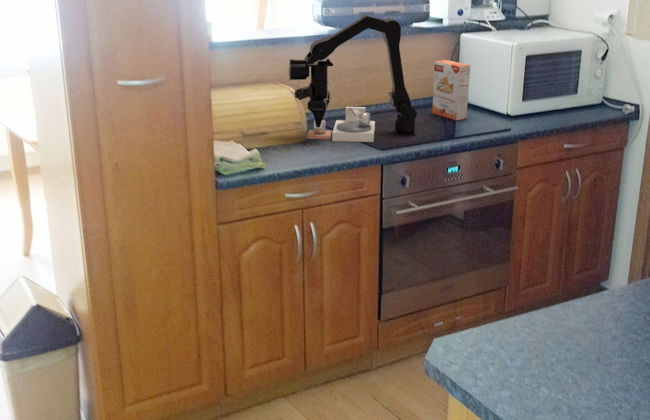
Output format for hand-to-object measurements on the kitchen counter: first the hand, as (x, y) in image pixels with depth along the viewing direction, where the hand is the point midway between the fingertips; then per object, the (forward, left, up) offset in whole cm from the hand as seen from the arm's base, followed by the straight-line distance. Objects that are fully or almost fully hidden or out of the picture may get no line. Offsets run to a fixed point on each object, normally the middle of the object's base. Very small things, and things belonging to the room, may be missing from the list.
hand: (319, 123), depth 258 cm
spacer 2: (-16, 0, 0) cm, 16 cm away
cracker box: (-47, -33, -4) cm, 58 cm away
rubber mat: (0, 0, -4) cm, 4 cm away
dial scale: (-12, -2, -4) cm, 13 cm away
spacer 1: (0, 0, -3) cm, 3 cm away
